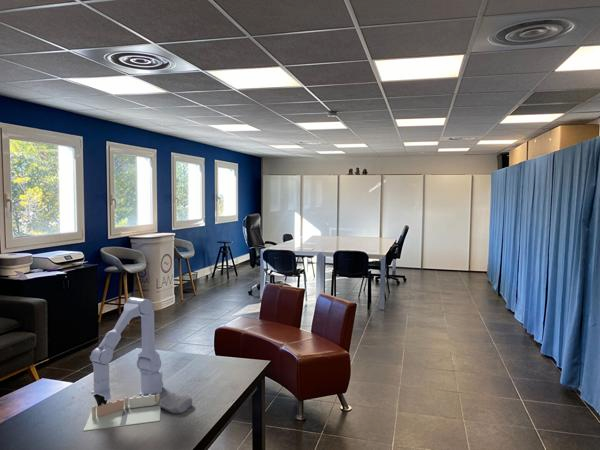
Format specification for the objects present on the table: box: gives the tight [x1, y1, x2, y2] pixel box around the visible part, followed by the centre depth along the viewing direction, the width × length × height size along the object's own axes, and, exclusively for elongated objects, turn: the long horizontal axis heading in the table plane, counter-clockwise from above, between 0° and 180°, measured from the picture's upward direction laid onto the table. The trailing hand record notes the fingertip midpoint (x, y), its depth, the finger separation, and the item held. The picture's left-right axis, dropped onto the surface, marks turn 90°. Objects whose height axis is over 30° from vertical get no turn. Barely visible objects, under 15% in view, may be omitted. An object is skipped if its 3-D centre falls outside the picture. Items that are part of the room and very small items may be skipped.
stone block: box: [159, 392, 193, 414], centre depth 176 cm, size 12×5×10 cm
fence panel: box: [91, 398, 125, 418], centre depth 170 cm, size 12×1×5 cm, turn 129°
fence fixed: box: [124, 393, 161, 409], centre depth 176 cm, size 14×1×5 cm, turn 106°
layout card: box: [83, 401, 162, 432], centre depth 170 cm, size 27×17×1 cm, turn 106°
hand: (102, 411), depth 170 cm, fingers closed
